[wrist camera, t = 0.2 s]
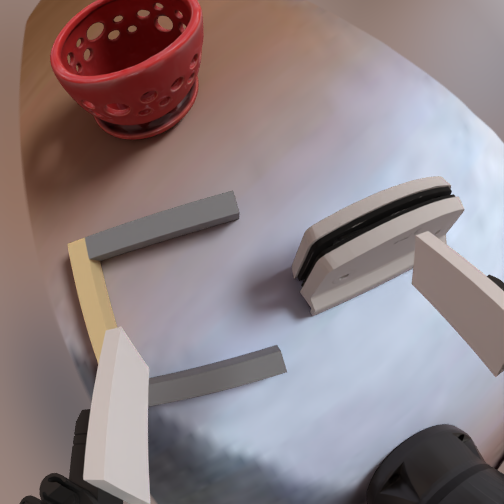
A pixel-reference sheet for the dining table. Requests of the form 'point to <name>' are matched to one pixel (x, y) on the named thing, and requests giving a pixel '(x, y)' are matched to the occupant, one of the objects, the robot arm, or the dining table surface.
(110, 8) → the plant pot
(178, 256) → the dining table surface
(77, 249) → the bracket
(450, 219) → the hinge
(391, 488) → the robot arm
